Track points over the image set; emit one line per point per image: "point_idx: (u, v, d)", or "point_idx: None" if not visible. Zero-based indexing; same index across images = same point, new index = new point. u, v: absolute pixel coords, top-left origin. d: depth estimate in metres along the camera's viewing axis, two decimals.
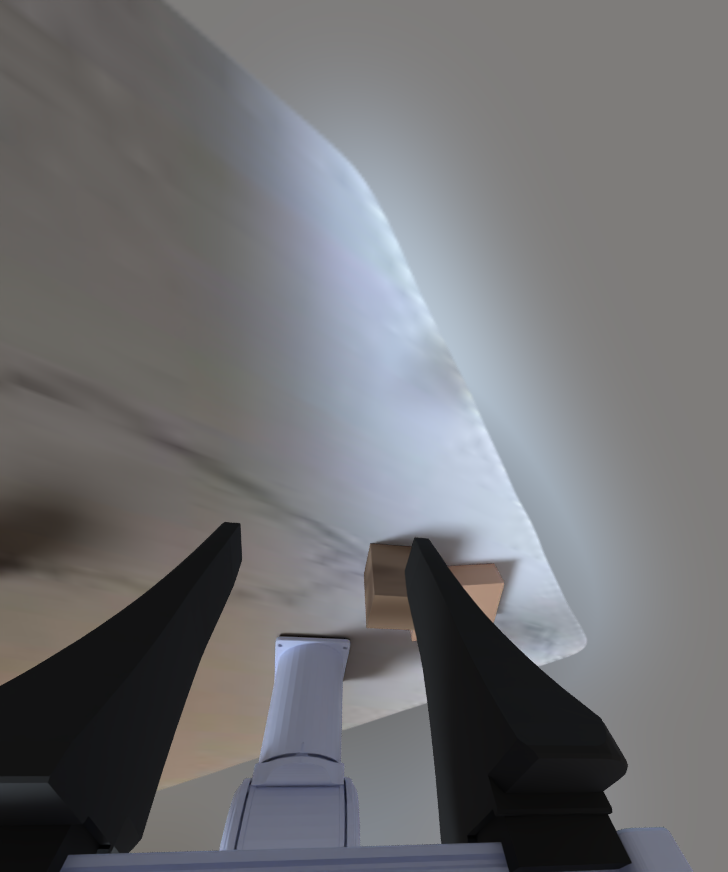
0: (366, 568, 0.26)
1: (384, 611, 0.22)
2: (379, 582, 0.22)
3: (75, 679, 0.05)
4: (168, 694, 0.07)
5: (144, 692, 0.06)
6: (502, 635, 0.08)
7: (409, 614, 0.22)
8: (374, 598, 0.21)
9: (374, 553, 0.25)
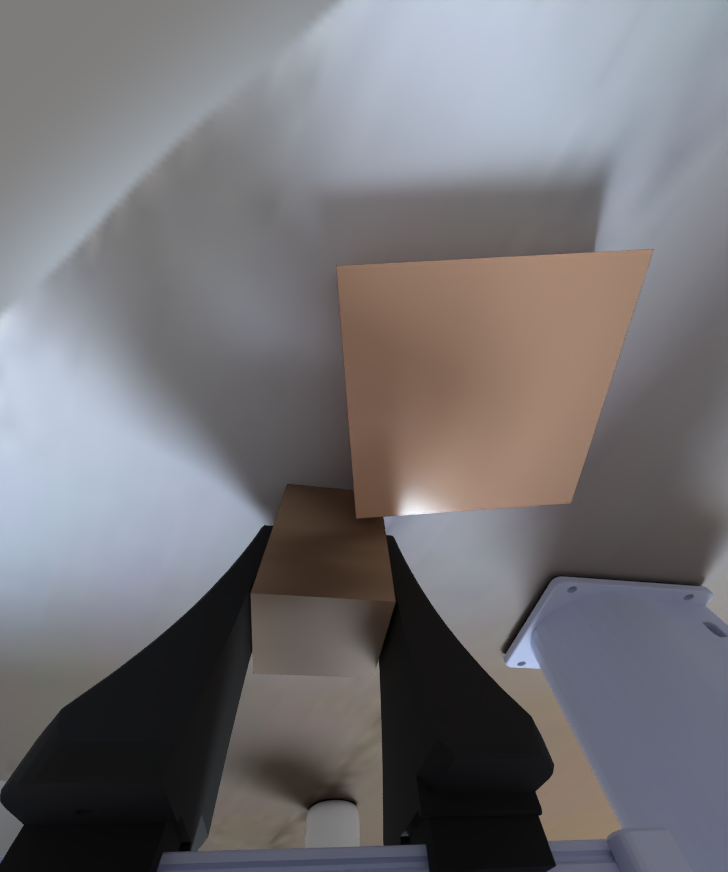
0: None
1: (309, 657, 0.09)
2: None
3: (159, 681, 0.06)
4: (229, 695, 0.08)
5: (217, 694, 0.06)
6: (449, 632, 0.08)
7: (323, 617, 0.08)
8: (265, 672, 0.09)
9: None
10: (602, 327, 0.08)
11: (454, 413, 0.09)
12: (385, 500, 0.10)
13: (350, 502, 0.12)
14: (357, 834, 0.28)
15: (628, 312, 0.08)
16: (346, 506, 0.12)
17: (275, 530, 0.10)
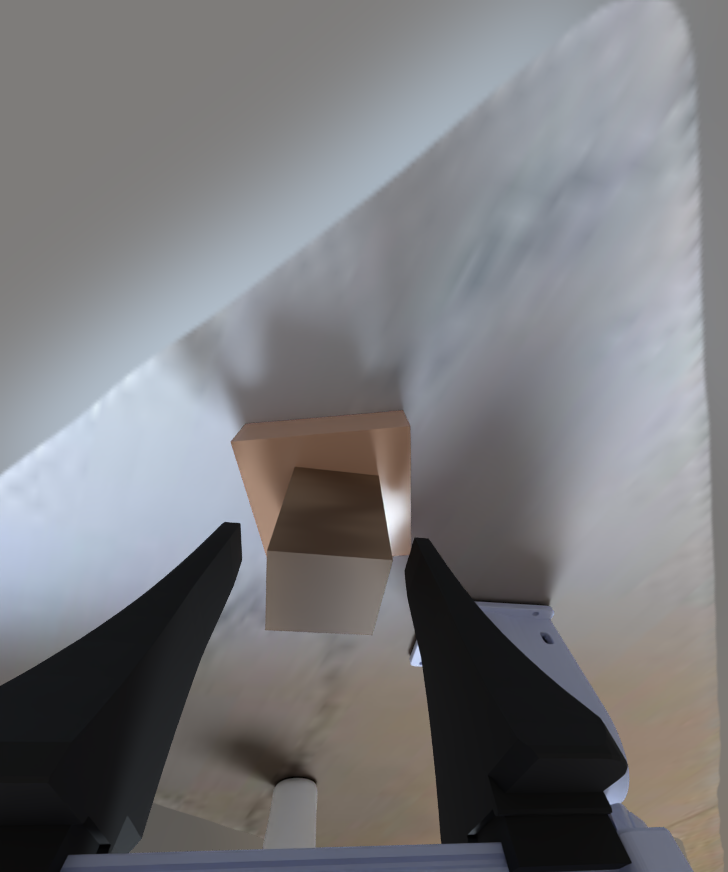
0: None
1: (316, 614, 0.10)
2: None
3: (75, 679, 0.05)
4: (168, 694, 0.07)
5: (144, 692, 0.06)
6: (502, 635, 0.08)
7: (329, 575, 0.10)
8: (276, 629, 0.11)
9: None
10: (394, 462, 0.14)
11: None
12: None
13: (352, 482, 0.13)
14: (314, 805, 0.33)
15: (410, 453, 0.14)
16: (348, 485, 0.13)
17: (285, 503, 0.11)
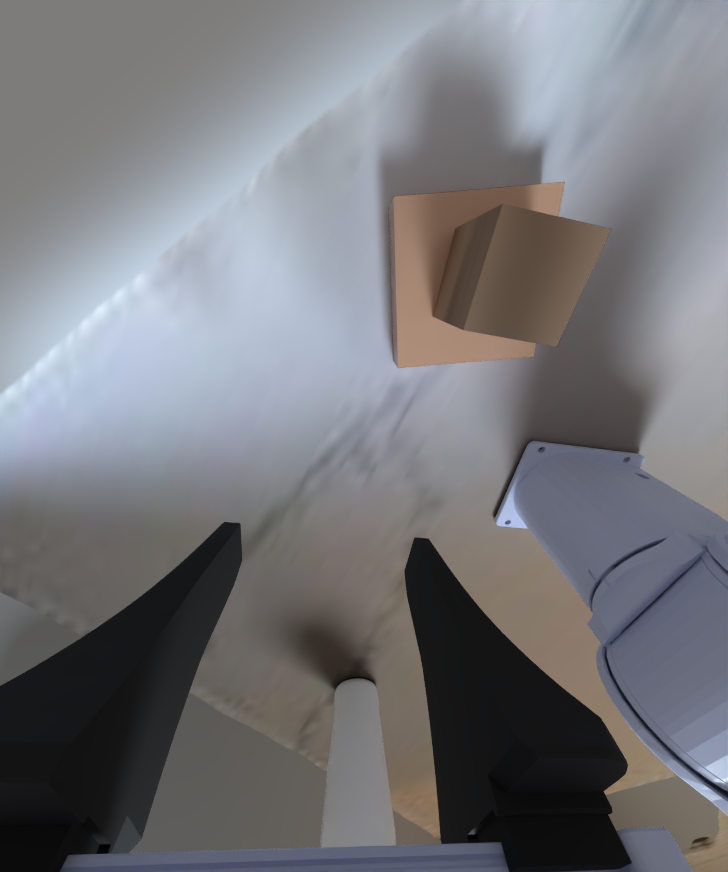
0: None
1: (516, 308, 0.11)
2: (458, 314, 0.12)
3: (74, 679, 0.05)
4: (168, 694, 0.07)
5: (144, 692, 0.06)
6: (502, 635, 0.08)
7: (547, 247, 0.10)
8: (472, 330, 0.11)
9: (439, 312, 0.15)
10: None
11: None
12: (416, 353, 0.17)
13: None
14: (377, 702, 0.34)
15: None
16: None
17: (478, 218, 0.12)
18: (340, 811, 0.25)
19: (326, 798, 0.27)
